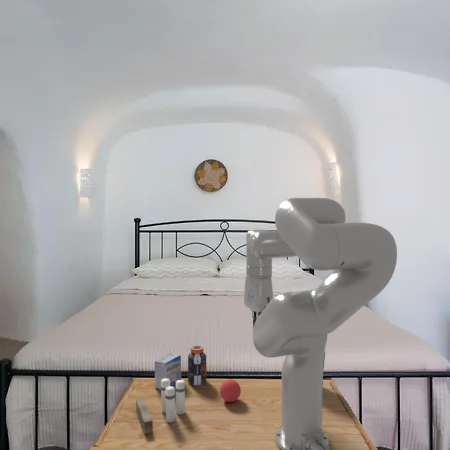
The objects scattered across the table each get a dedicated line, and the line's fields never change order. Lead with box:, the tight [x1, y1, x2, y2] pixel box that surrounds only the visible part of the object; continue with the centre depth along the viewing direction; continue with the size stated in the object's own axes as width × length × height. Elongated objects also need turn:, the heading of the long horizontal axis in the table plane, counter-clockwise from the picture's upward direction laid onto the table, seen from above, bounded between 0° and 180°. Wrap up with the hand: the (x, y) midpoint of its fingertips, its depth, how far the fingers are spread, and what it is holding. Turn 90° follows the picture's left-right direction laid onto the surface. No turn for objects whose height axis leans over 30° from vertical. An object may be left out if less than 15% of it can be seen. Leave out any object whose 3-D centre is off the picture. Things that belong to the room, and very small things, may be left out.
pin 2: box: [165, 386, 176, 423], centre depth 99 cm, size 2×2×8 cm
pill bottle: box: [187, 345, 207, 386], centre depth 120 cm, size 6×6×11 cm
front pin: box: [175, 379, 186, 415], centre depth 102 cm, size 2×2×8 cm
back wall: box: [135, 397, 154, 435], centre depth 99 cm, size 12×2×3 cm, turn 23°
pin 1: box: [160, 378, 170, 414], centre depth 103 cm, size 2×2×8 cm
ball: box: [219, 378, 242, 403], centre depth 108 cm, size 6×6×6 cm
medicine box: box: [154, 352, 182, 390], centre depth 118 cm, size 8×4×9 cm, turn 148°
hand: (259, 332), depth 111 cm, fingers closed
